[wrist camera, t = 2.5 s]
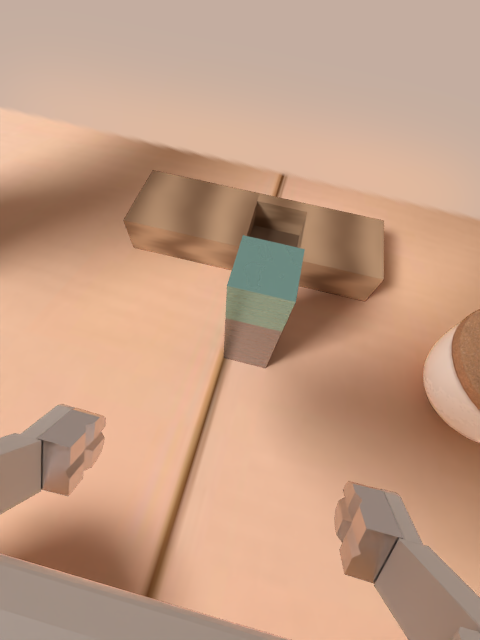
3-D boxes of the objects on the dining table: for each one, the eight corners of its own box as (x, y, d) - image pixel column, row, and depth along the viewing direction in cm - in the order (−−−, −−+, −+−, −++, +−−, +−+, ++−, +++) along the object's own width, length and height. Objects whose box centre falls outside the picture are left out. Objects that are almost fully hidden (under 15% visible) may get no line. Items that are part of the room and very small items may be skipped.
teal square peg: (223, 357, 27) (227, 285, 17) (233, 321, 29) (242, 235, 19) (265, 368, 27) (295, 301, 16) (273, 330, 29) (304, 249, 18)
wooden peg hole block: (133, 247, 33) (123, 220, 29) (159, 199, 36) (153, 170, 33) (364, 301, 31) (383, 279, 28) (367, 245, 35) (384, 220, 31)
